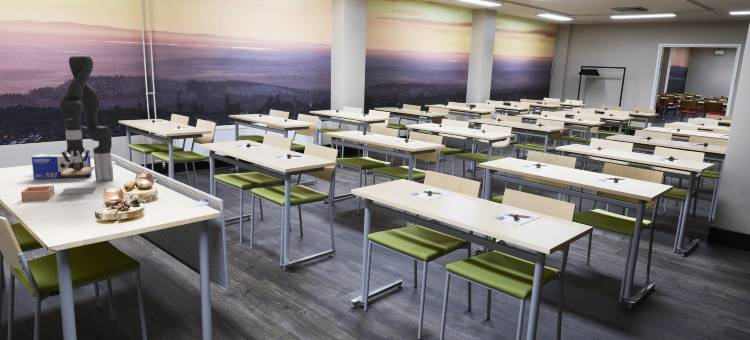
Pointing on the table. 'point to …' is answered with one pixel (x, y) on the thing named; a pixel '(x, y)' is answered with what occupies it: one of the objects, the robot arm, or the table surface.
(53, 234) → the table surface
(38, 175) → the ink box
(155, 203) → the table surface
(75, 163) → the lid
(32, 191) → the dish
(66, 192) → the mat
